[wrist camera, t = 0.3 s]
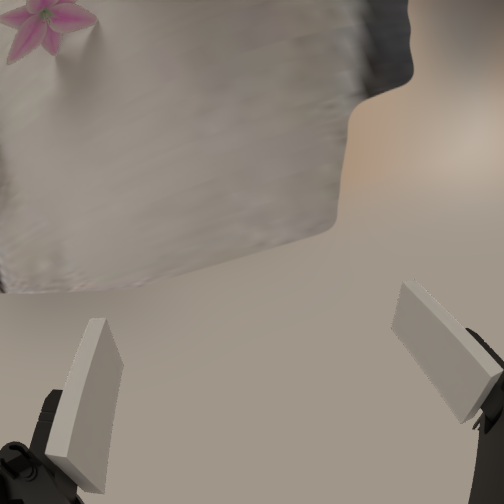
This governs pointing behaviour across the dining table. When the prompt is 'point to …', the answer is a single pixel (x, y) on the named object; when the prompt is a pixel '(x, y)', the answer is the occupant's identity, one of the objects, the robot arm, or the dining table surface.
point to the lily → (44, 25)
